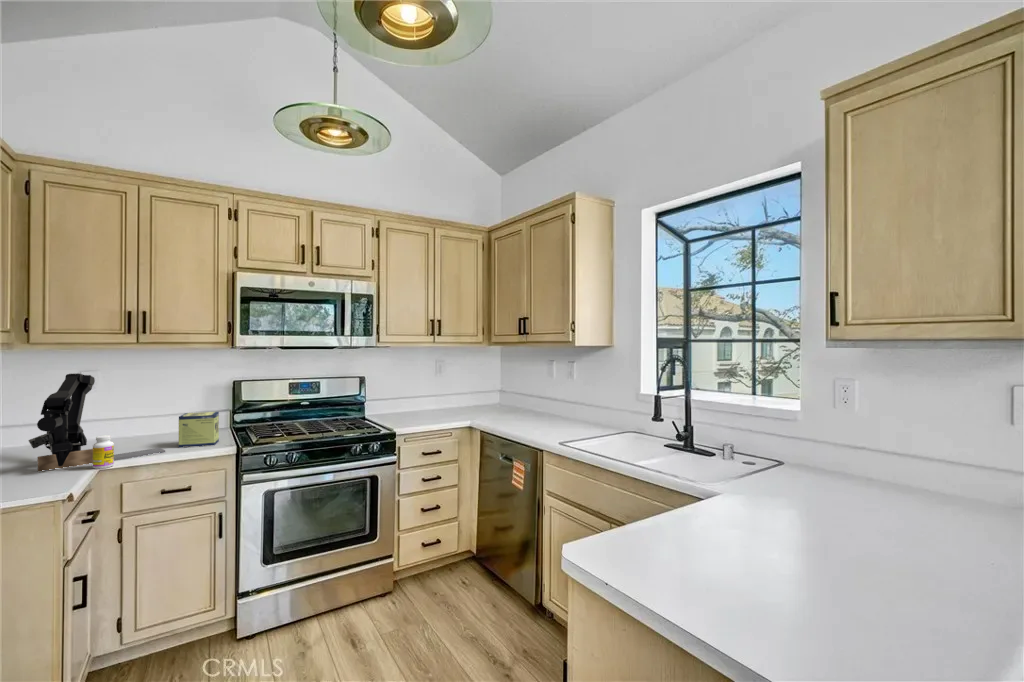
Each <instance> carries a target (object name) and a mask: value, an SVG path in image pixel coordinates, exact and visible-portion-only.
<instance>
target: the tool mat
mask: <svg viewBox="0 0 1024 682" xmlns="http://www.w3.org/2000/svg"><path fill="white" fill-rule="evenodd" d="M159 452H165V453H166V450H165V449H163V448H161V447H155V448H148V449H144V450H143V449H142V450H136V451H129V452H122V453H114V462H115V461H121V460H127V459H132V457H134V458H138V457H137V456H140V457H144V456H143V455H146V456H149V455H148V454H153V453H159ZM159 454H160V453H159ZM153 455H154V454H153Z"/></svg>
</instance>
